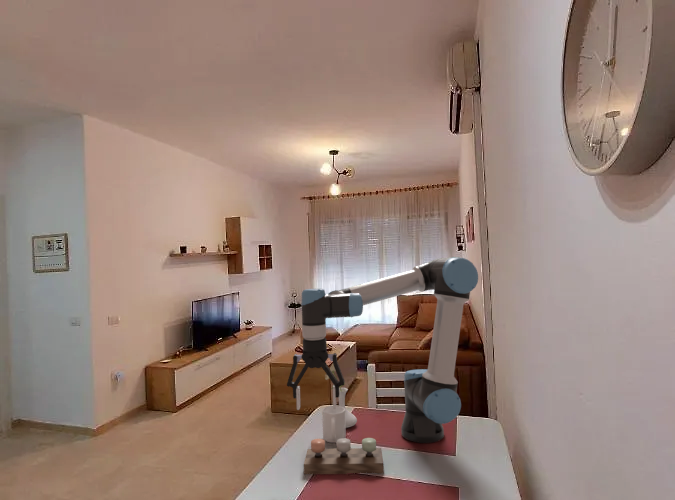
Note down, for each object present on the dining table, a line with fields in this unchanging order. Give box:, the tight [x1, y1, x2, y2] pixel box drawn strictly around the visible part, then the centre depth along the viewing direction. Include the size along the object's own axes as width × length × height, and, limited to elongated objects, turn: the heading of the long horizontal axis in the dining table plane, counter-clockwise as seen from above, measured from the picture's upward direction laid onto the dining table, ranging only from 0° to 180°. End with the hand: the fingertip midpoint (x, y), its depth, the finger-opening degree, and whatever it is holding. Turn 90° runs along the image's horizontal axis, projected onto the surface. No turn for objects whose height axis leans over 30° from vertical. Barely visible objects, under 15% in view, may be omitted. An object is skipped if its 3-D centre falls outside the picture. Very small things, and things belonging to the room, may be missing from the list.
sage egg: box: [361, 437, 377, 456], centre depth 127 cm, size 4×4×4 cm
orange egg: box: [310, 438, 326, 456], centre depth 128 cm, size 4×4×4 cm
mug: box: [321, 405, 347, 444], centre depth 145 cm, size 12×8×10 cm
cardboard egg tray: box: [303, 447, 385, 475], centre depth 127 cm, size 24×10×3 cm, turn 88°
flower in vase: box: [324, 363, 358, 429], centre depth 158 cm, size 13×11×25 cm
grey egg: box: [335, 437, 352, 456], centre depth 127 cm, size 4×4×4 cm
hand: (316, 408), depth 128 cm, fingers open, 11 cm apart
